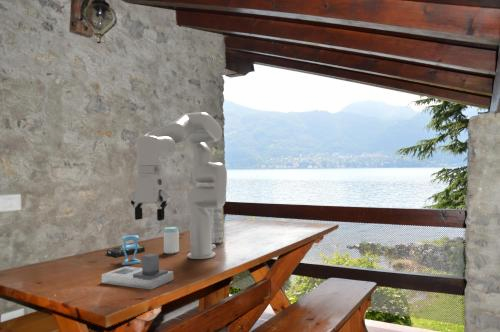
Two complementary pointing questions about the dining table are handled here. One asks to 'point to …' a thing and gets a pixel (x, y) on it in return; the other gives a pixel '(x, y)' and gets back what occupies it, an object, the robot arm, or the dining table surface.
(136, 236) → the chair
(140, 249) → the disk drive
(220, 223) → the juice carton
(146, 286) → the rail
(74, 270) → the dining table surface
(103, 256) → the dining table surface
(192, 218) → the robot arm
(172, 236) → the can
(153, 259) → the flanged block
